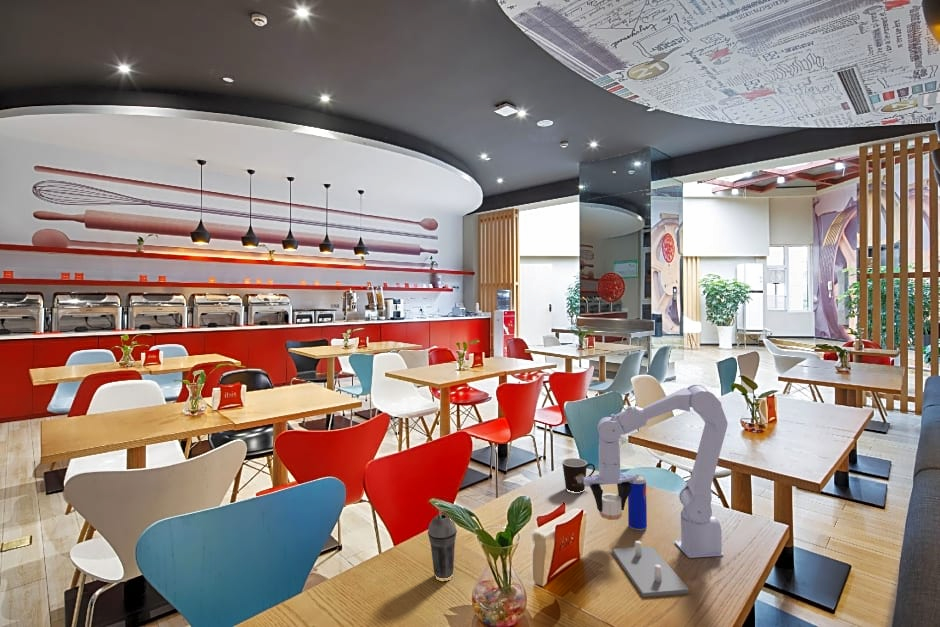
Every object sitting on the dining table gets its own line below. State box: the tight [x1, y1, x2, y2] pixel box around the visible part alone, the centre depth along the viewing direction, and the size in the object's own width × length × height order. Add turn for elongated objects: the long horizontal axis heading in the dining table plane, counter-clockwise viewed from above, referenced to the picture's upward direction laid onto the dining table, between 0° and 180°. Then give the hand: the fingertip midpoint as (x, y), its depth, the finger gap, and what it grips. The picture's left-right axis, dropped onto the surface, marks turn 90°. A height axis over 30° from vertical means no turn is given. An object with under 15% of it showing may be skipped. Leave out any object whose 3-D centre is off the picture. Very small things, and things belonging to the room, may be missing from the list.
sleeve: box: [599, 492, 623, 521], centre depth 132 cm, size 6×6×5 cm
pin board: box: [611, 540, 690, 598], centre depth 118 cm, size 19×11×4 cm, turn 4°
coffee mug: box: [561, 457, 596, 492], centre depth 168 cm, size 12×9×10 cm
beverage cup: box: [427, 499, 458, 578], centre depth 118 cm, size 7×7×20 cm
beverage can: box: [627, 473, 648, 531], centre depth 141 cm, size 5×5×15 cm
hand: (610, 509), depth 132 cm, fingers closed on sleeve, 6 cm apart
